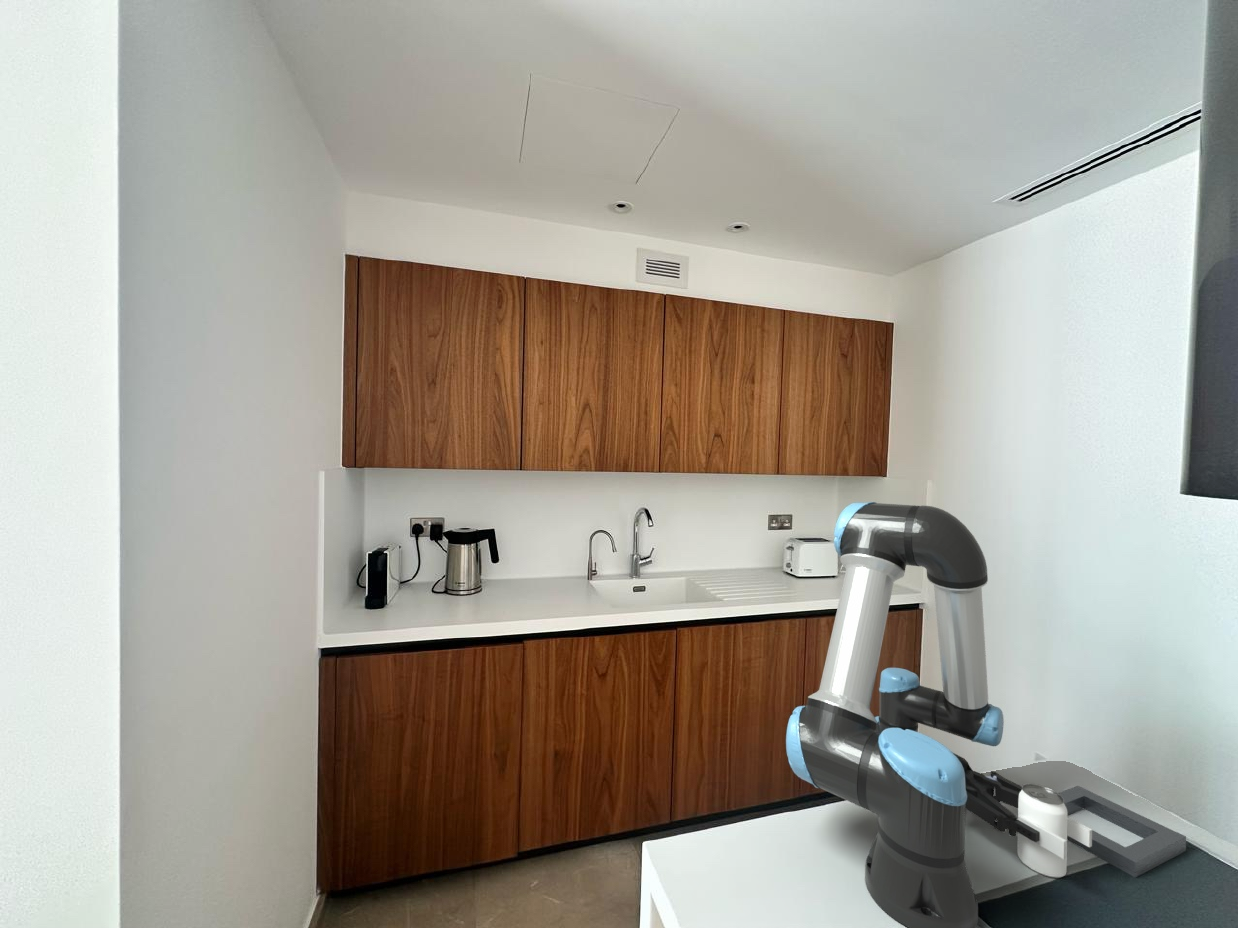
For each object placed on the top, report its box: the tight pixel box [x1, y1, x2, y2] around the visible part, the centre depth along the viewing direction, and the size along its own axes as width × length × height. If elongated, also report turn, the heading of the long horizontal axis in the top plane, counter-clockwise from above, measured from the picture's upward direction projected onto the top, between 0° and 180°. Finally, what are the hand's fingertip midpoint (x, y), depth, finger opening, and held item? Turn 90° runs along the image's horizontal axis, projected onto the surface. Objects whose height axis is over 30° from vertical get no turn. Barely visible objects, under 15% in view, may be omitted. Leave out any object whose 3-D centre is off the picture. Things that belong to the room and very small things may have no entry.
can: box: [1017, 783, 1068, 879], centre depth 88 cm, size 6×6×12 cm
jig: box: [1057, 785, 1187, 878], centre depth 97 cm, size 17×16×2 cm
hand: (1077, 843), depth 84 cm, fingers closed on can, 6 cm apart
